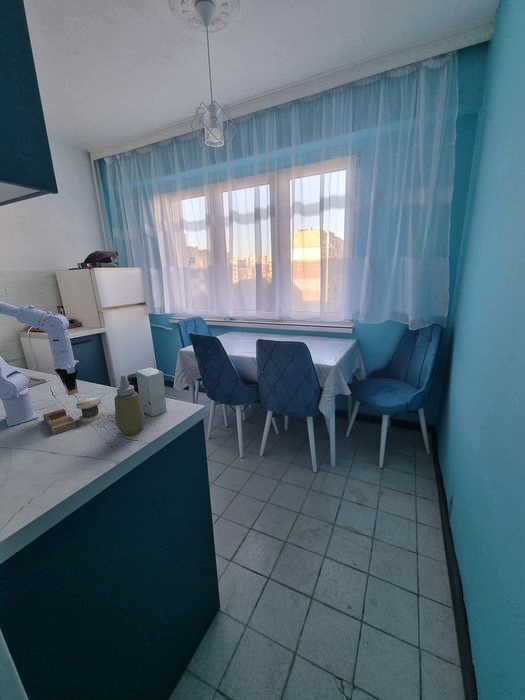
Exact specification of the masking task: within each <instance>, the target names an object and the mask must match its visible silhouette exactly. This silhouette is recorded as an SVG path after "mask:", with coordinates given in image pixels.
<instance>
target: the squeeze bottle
mask: <svg viewBox="0 0 525 700" xmlns="http://www.w3.org/2000/svg"><path fill="white" fill-rule="evenodd" d="M127 380H128V379H127V377H126V375H125V374H124V375H121V376H120V383H119V384H120V386H118V387H117V388H116V395H115V397H113V399H114V413H115V425H116V427H117V428H118V430H119V432H120V433H121V434H122V435H123V436H125V437H129V436H130V437H131V436H135V435H137V434H139V433H141V432H142V431H143V429H144V423H145V419H146V417H145V414H144V413H145V412H144V411H143V409H142V405H141V402H140V398H139V395H138V393H137V392H135V391H134V386H133V385H129V383H128V381H127Z"/></svg>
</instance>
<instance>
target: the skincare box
mask: <svg viewBox="0 0 525 700" xmlns="http://www.w3.org/2000/svg"><path fill="white" fill-rule="evenodd" d="M136 373H137V382H138V391H139V398H140V402H141V405H142V409H143V412H144V413H145V414H147V415H149V416H150V417H155V416H157V415H159V414H163V413H165V412H167V410H168V409H167V399H166V390H165V379H164V372H163V371H161V370H159V369H157V368H153V367H152V366H151V367H146V368H143V369H138V370H136Z"/></svg>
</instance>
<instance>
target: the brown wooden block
mask: <svg viewBox="0 0 525 700" xmlns="http://www.w3.org/2000/svg"><path fill="white" fill-rule="evenodd" d="M64 385H65V383H64ZM64 385H63V386H64ZM64 389H65V393H66V395H67V396H72V395H76V394H78V393H79V389H78V385H77V382H76V387H75V389H74V390H70V391H68V390H67V388H66V386H64Z"/></svg>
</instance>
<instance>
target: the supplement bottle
mask: <svg viewBox="0 0 525 700" xmlns="http://www.w3.org/2000/svg"><path fill="white" fill-rule="evenodd" d="M126 378H127V381H128V383H129V385H133V386H134V391H135V392H137V393H138V395H139V391H138V382H137V373H131V374H128V375H127V377H126Z"/></svg>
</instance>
